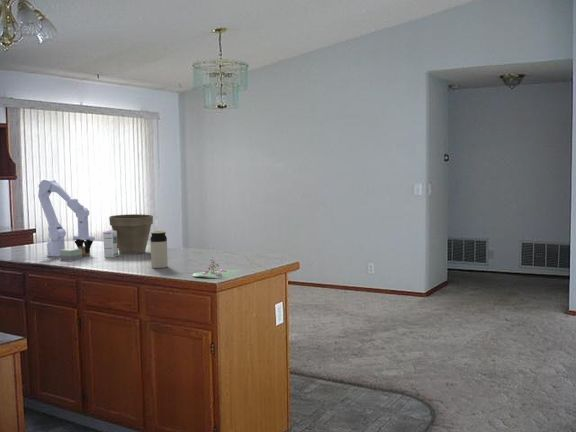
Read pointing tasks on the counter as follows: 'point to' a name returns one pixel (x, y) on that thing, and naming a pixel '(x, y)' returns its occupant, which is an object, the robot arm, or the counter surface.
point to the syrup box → (110, 243)
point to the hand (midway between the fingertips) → (84, 252)
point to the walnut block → (83, 251)
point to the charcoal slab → (71, 257)
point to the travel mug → (159, 249)
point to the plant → (216, 272)
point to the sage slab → (71, 252)
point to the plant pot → (131, 232)
